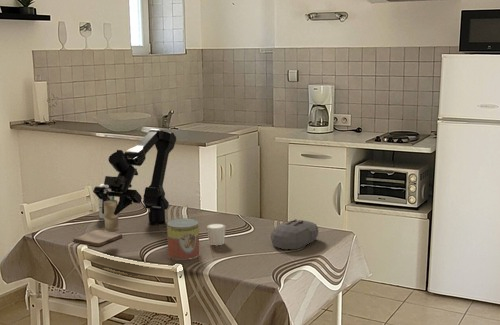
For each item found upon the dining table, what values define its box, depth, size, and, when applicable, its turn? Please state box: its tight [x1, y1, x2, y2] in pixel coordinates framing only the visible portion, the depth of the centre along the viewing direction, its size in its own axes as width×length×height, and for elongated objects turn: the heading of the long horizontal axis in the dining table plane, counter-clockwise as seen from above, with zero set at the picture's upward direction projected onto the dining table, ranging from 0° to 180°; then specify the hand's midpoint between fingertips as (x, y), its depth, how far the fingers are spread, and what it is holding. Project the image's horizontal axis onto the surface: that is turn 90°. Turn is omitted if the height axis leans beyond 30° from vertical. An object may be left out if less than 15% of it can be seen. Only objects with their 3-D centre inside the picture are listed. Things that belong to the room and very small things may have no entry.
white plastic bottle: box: [97, 183, 115, 220], centre depth 272 cm, size 6×6×14 cm
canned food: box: [166, 217, 200, 261], centre depth 222 cm, size 11×11×12 cm
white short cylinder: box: [206, 223, 226, 246], centre depth 235 cm, size 7×7×7 cm
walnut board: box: [73, 229, 123, 247], centre depth 242 cm, size 13×13×1 cm
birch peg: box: [104, 200, 120, 233], centre depth 233 cm, size 5×5×11 cm
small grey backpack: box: [270, 218, 319, 250], centre depth 235 cm, size 15×8×20 cm
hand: (108, 214), depth 231 cm, fingers closed on birch peg, 5 cm apart
